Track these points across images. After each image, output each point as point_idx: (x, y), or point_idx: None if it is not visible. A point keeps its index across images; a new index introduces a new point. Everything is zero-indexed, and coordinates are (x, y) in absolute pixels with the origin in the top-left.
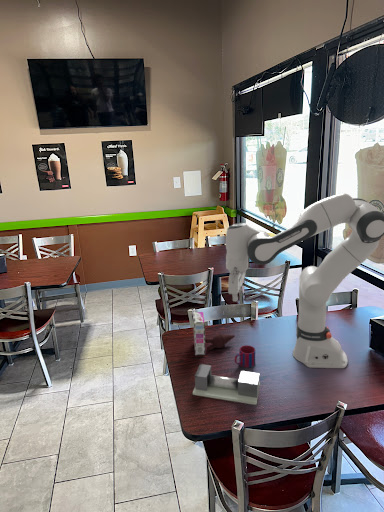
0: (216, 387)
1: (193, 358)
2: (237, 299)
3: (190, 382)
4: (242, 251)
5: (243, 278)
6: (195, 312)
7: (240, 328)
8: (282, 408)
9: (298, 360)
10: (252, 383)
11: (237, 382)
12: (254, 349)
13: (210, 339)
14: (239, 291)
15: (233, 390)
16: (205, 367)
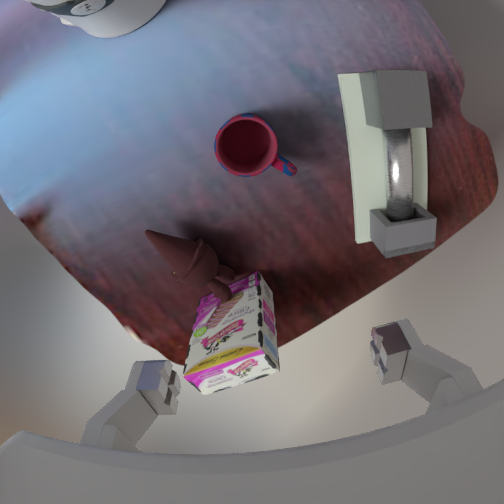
0: None
1: (286, 289)
2: (392, 328)
3: None
4: None
5: (95, 480)
6: (201, 391)
7: (73, 237)
8: (401, 14)
9: (163, 4)
10: (427, 85)
11: (409, 130)
12: (234, 121)
13: (220, 288)
14: (170, 371)
15: None
16: (398, 238)
